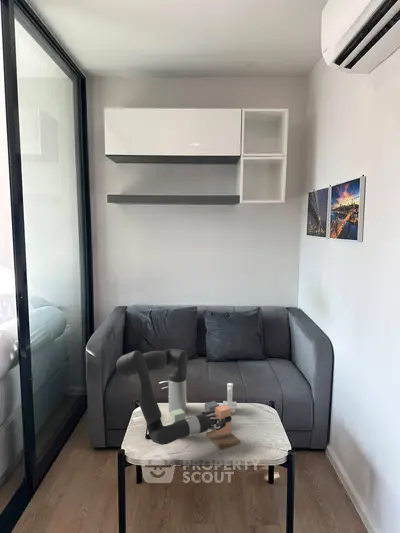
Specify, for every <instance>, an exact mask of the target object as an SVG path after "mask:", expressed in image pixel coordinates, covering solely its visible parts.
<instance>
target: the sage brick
mask: <svg viewBox="0 0 400 533" xmlns="http://www.w3.org/2000/svg"><path fill="white" fill-rule="evenodd" d="M183 419H186V412H184V411H183V410H182V409H177V410H174V411H171V413H170V425H171V424H173V423H174V422H176V421H179V420H183Z"/></svg>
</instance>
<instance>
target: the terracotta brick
mask: <svg viewBox="0 0 400 533" xmlns="http://www.w3.org/2000/svg"><path fill="white" fill-rule="evenodd" d="M231 414H232V413H231V408H229V407H228V406H227V405H223V404H222V405H219V406H218V407H215V418H216V417H219V418H224V417H228V416H231ZM231 417H232V416H231ZM221 421H222V420H220V422H221ZM217 423H218V420H217ZM231 424H232V420H231V421H230V422H227V423H226V426H225V427H223V428H222V429H220V430H218V431H217V430H216V428H214V430H215V431H216V432H218V433H219V434H220V435H222V434H225V433H228V432H231V430H232V429H231V428H232V427H231ZM231 433H232V432H231Z"/></svg>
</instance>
